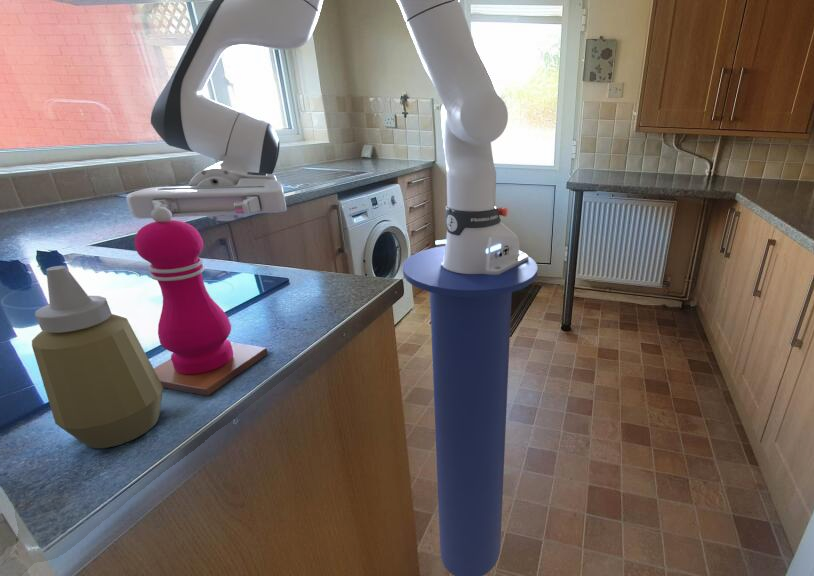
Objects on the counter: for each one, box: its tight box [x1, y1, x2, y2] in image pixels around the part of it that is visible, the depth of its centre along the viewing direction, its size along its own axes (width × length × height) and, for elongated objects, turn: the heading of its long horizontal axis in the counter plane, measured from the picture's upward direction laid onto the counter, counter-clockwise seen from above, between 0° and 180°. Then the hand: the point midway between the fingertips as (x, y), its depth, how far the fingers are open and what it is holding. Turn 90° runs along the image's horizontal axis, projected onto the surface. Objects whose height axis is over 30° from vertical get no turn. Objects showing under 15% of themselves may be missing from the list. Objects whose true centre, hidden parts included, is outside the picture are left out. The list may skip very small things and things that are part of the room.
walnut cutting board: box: [153, 341, 269, 397], centre depth 53 cm, size 10×10×1 cm
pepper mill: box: [134, 207, 233, 374], centre depth 49 cm, size 7×7×20 cm
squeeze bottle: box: [31, 265, 164, 449], centre depth 39 cm, size 8×8×18 cm
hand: (202, 211), depth 58 cm, fingers open, 8 cm apart
